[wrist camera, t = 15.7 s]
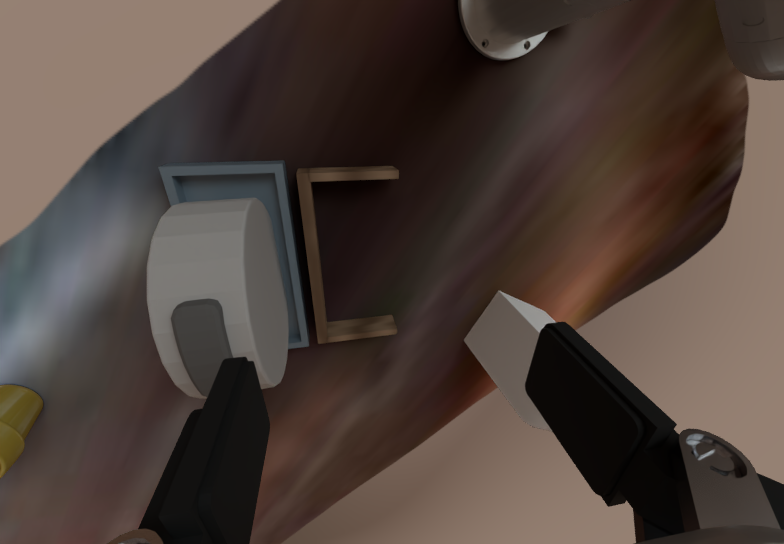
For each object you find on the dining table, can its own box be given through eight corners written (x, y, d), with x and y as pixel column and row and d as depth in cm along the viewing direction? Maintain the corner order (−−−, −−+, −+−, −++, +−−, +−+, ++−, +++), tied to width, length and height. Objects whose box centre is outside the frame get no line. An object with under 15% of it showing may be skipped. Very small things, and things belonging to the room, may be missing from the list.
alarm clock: (199, 188, 38) (98, 249, 21) (264, 184, 39) (220, 239, 22) (240, 331, 48) (196, 455, 30) (292, 324, 49) (277, 439, 31)
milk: (544, 311, 60) (682, 430, 37) (509, 356, 64) (616, 491, 41) (498, 290, 56) (623, 412, 33) (463, 340, 59) (554, 481, 36)
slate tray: (284, 160, 39) (282, 163, 37) (309, 334, 51) (309, 346, 49) (169, 163, 37) (158, 166, 34) (223, 345, 49) (218, 357, 46)
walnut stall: (392, 165, 42) (398, 170, 39) (391, 319, 54) (397, 333, 50) (298, 168, 40) (296, 173, 37) (318, 328, 51) (318, 344, 48)
